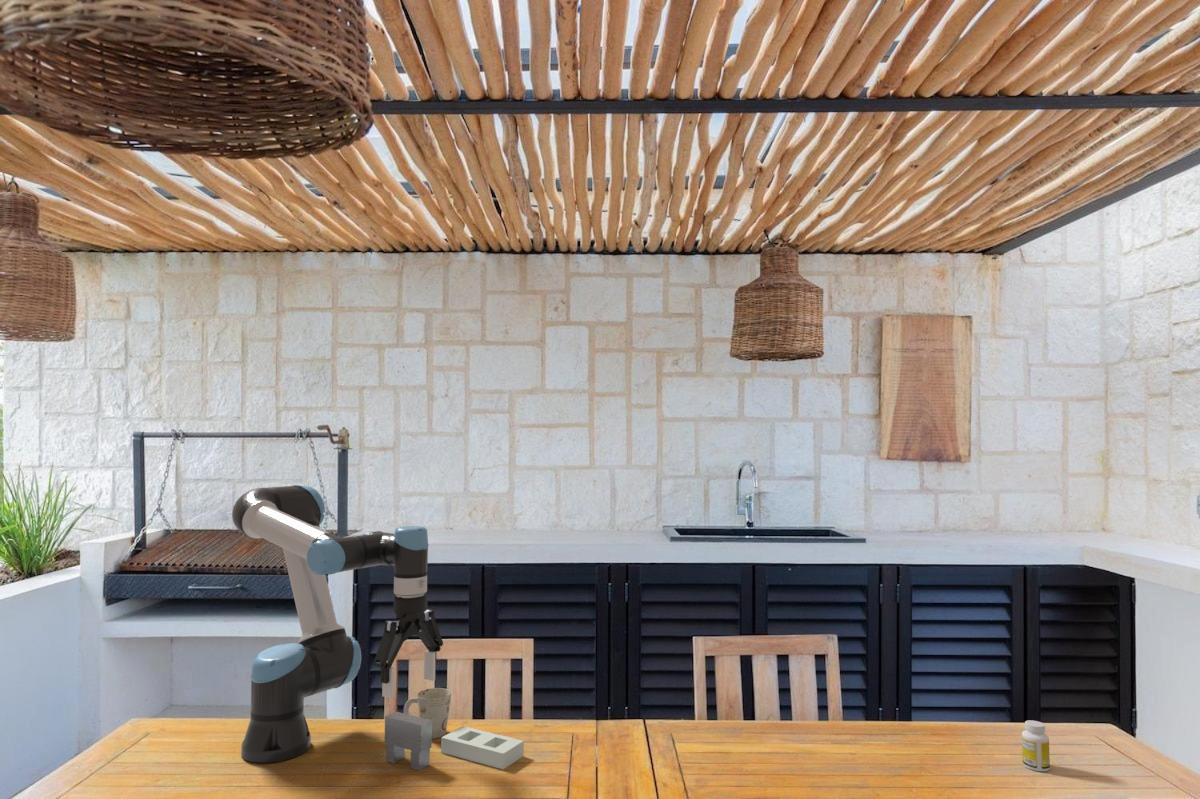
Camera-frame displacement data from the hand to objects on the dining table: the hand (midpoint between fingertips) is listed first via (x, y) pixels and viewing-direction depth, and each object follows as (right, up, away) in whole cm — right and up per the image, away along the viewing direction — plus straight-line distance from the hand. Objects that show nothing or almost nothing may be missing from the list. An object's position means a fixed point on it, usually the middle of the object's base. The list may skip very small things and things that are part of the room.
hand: (409, 688), depth 172 cm
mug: (0, -18, +16) cm, 24 cm away
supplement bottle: (+143, -18, -1) cm, 145 cm away
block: (+16, -17, +4) cm, 24 cm away
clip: (0, -17, -1) cm, 17 cm away
